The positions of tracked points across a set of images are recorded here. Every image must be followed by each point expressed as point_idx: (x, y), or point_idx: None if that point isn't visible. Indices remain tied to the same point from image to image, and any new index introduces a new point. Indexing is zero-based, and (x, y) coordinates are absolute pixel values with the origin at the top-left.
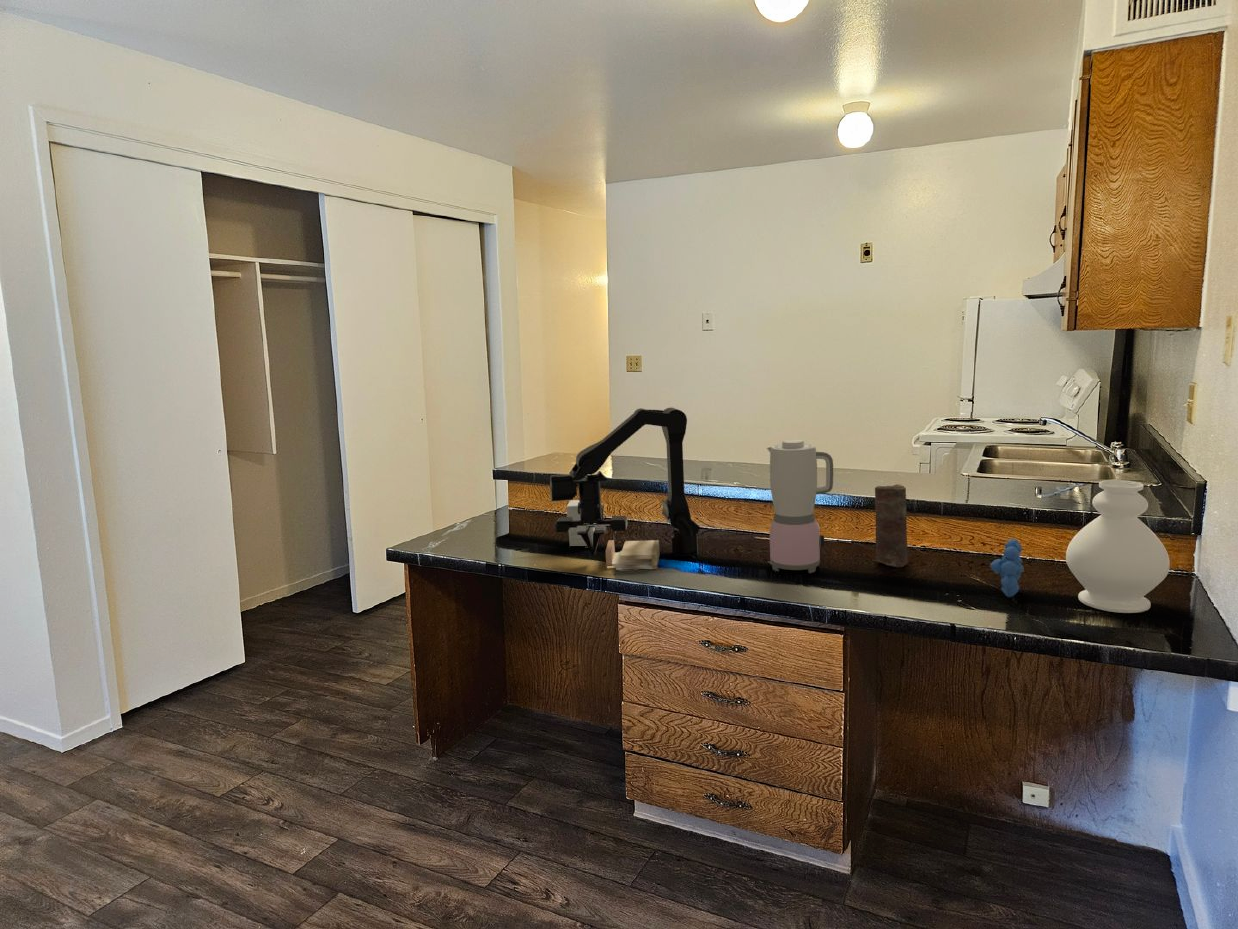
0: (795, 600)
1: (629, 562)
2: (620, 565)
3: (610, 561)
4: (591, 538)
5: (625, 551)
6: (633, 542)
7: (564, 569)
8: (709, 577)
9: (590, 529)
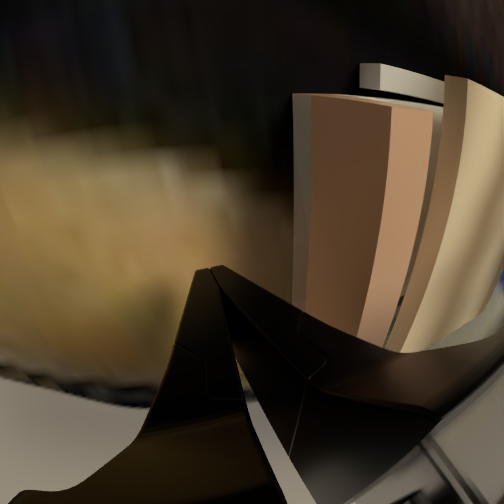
0: None
1: (403, 286)
2: None
3: None
4: (238, 377)
5: (430, 309)
6: (493, 130)
7: (63, 355)
8: (490, 298)
9: (270, 480)
